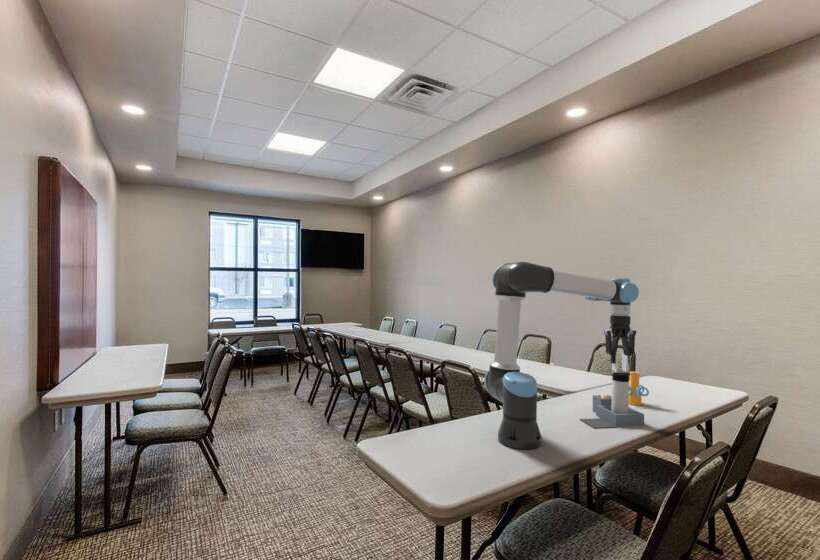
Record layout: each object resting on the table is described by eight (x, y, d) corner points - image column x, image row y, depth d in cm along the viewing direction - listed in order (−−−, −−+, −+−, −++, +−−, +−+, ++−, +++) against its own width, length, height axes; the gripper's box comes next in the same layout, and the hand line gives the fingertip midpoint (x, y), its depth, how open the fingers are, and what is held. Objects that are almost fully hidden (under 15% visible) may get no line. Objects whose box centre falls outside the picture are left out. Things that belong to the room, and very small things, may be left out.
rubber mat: (593, 428, 156) (593, 427, 156) (579, 419, 166) (579, 418, 166) (617, 427, 158) (617, 426, 158) (601, 419, 167) (601, 418, 167)
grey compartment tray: (615, 426, 159) (615, 408, 159) (588, 411, 178) (588, 395, 178) (644, 425, 161) (644, 407, 161) (613, 410, 180) (613, 394, 180)
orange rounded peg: (603, 412, 174) (603, 396, 174) (599, 410, 177) (599, 394, 177) (611, 412, 174) (611, 396, 174) (606, 410, 178) (606, 394, 178)
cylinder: (651, 408, 183) (651, 375, 184) (626, 406, 185) (627, 374, 186) (641, 400, 195) (641, 370, 195) (618, 399, 197) (618, 369, 198)
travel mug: (628, 424, 161) (629, 374, 162) (610, 420, 165) (611, 372, 165) (629, 420, 167) (630, 372, 167) (611, 416, 170) (613, 370, 171)
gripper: (607, 315, 162) (606, 373, 161) (645, 315, 164) (644, 372, 164) (596, 314, 169) (595, 369, 169) (632, 314, 171) (632, 368, 171)
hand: (619, 371), depth 166 cm, fingers open, 4 cm apart
